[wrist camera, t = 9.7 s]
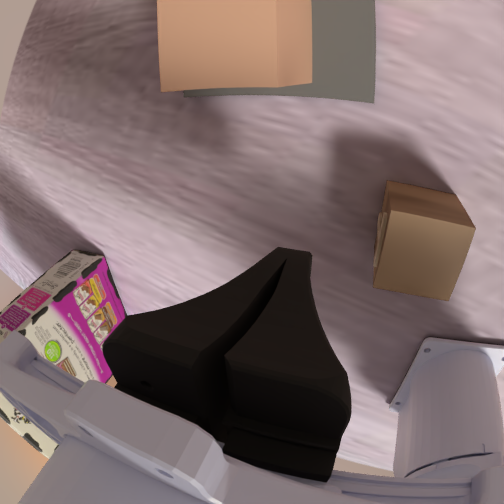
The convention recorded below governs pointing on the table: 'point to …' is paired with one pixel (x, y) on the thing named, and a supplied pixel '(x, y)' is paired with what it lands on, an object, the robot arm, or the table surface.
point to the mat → (330, 55)
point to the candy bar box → (64, 327)
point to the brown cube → (420, 241)
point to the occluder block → (234, 43)
